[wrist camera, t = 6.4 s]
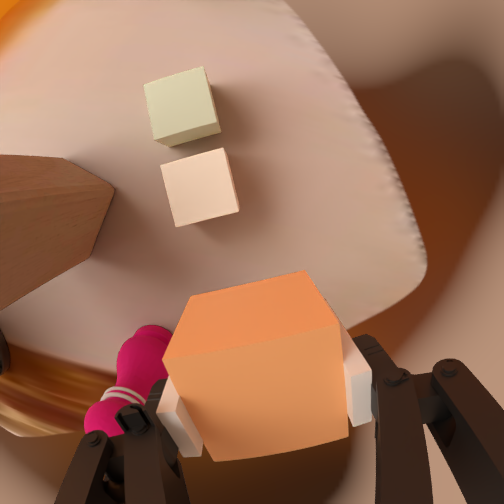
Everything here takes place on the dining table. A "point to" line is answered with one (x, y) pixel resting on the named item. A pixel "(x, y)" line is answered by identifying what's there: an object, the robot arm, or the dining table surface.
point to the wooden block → (45, 220)
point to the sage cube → (181, 107)
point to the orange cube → (260, 368)
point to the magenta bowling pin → (131, 378)
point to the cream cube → (200, 187)
